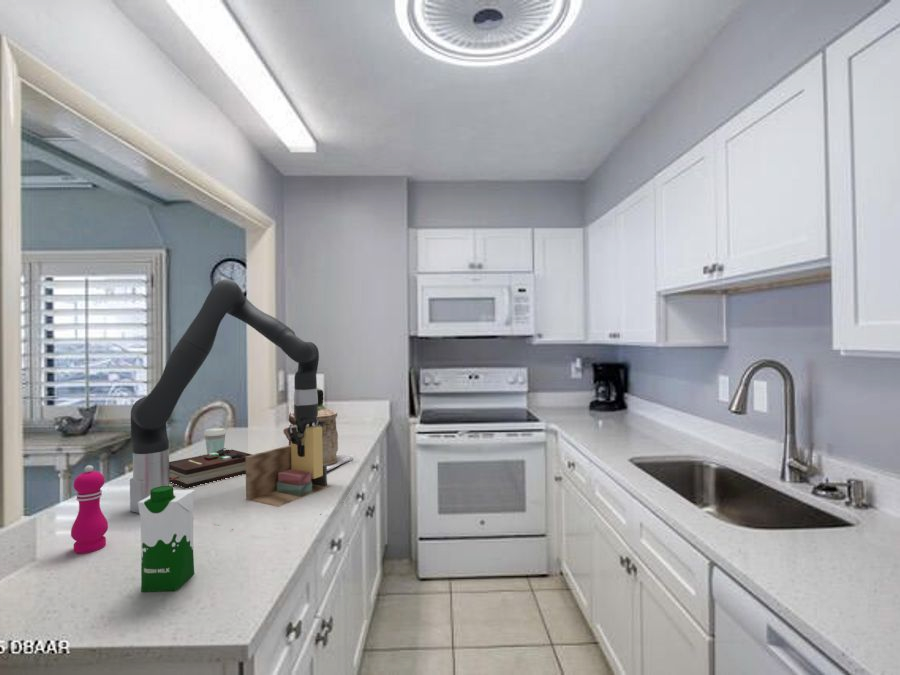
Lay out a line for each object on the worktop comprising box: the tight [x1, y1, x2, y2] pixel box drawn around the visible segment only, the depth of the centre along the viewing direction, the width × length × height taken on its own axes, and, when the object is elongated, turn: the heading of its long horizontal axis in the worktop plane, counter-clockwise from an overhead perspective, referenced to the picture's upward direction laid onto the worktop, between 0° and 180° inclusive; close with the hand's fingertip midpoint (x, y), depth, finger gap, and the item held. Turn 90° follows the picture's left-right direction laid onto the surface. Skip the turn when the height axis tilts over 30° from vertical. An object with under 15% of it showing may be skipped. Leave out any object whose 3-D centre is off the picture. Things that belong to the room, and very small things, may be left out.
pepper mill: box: [70, 464, 109, 554], centre depth 116 cm, size 7×7×20 cm
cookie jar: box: [282, 387, 354, 472], centre depth 191 cm, size 25×25×32 cm
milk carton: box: [138, 485, 196, 593], centre depth 99 cm, size 9×9×20 cm
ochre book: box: [291, 426, 323, 479], centre depth 158 cm, size 4×10×16 cm, turn 61°
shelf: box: [245, 444, 331, 508], centre depth 152 cm, size 22×14×14 cm, turn 151°
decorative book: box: [169, 447, 253, 489], centre depth 177 cm, size 19×8×30 cm
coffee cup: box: [203, 427, 227, 455], centre depth 206 cm, size 8×8×12 cm
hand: (306, 454), depth 158 cm, fingers closed on ochre book, 4 cm apart
